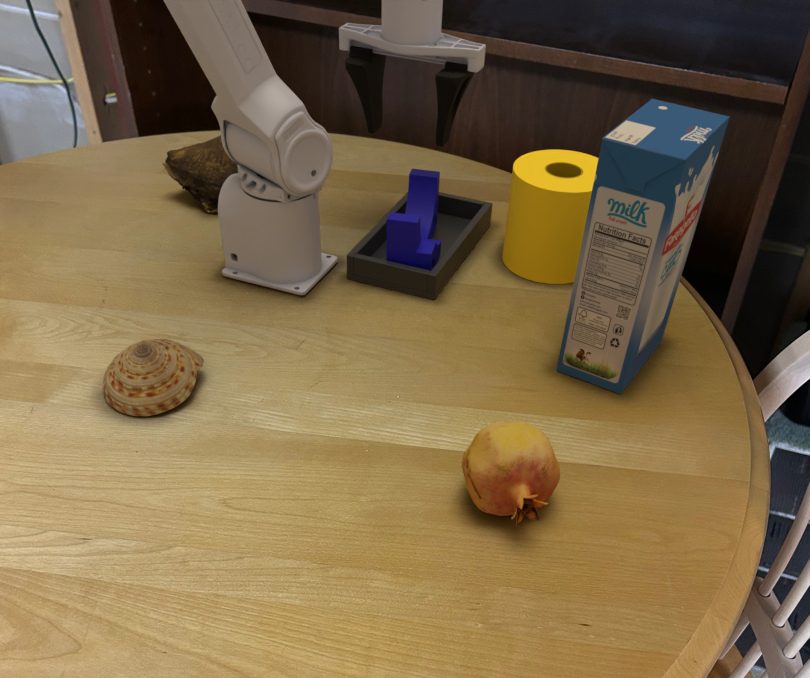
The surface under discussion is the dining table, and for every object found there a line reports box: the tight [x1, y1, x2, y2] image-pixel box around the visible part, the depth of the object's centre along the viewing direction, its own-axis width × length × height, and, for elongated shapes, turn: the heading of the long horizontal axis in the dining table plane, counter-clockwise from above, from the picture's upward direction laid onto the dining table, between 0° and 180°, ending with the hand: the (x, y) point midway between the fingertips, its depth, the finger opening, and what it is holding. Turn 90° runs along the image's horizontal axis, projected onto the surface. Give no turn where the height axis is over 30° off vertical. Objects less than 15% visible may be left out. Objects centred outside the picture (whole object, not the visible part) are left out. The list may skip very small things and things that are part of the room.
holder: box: [346, 191, 493, 301], centre depth 86 cm, size 10×18×3 cm, turn 157°
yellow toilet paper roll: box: [501, 149, 599, 285], centre depth 82 cm, size 10×10×9 cm
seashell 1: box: [102, 338, 205, 417], centre depth 68 cm, size 8×6×8 cm
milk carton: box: [555, 98, 731, 395], centre depth 67 cm, size 10×6×20 cm, turn 147°
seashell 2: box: [161, 134, 238, 214], centre depth 92 cm, size 16×9×7 cm, turn 111°
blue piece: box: [386, 168, 441, 271], centre depth 83 cm, size 12×4×6 cm, turn 168°
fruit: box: [461, 421, 561, 527], centre depth 58 cm, size 7×7×10 cm
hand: (408, 136), depth 84 cm, fingers open, 7 cm apart
